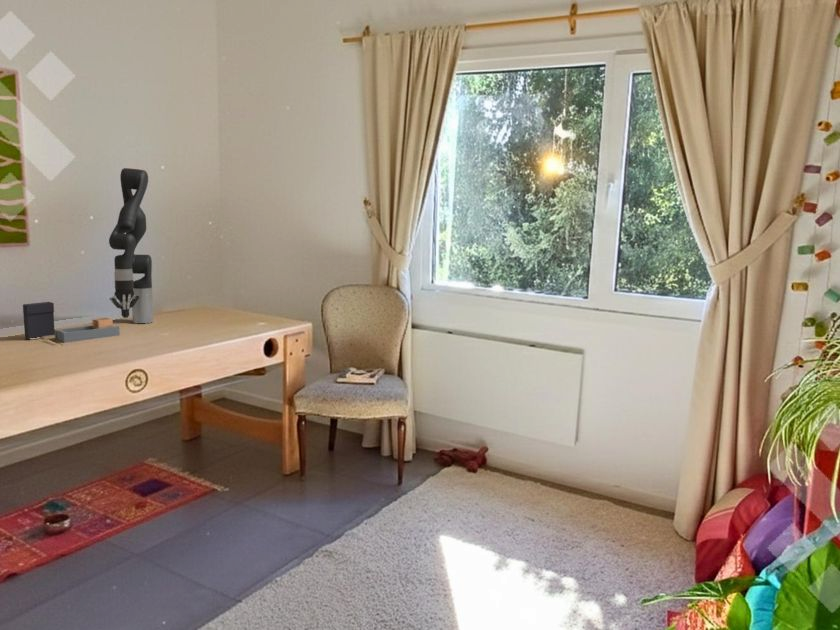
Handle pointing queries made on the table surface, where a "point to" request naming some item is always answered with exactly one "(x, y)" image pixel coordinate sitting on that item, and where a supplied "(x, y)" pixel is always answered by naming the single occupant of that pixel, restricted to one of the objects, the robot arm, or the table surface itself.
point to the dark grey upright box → (38, 319)
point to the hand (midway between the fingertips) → (125, 317)
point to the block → (102, 323)
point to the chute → (85, 333)
